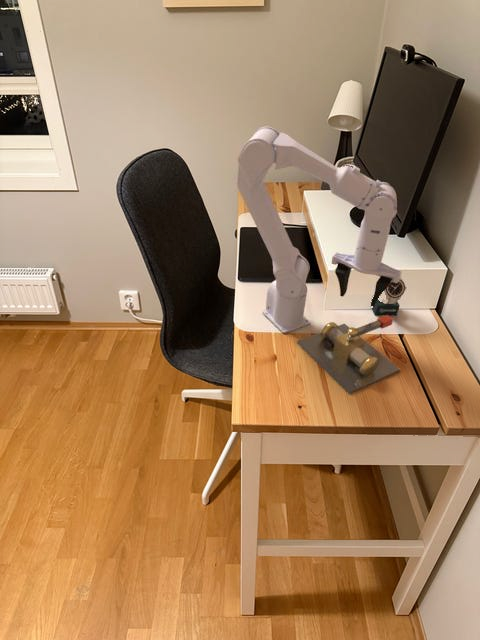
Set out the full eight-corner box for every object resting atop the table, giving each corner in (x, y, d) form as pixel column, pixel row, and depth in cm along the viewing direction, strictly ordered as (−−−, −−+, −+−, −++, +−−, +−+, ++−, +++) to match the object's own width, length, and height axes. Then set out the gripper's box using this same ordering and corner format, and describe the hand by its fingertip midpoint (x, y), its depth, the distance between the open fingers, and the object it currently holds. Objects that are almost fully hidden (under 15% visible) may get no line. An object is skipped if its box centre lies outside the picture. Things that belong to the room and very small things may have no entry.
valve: (296, 342, 103) (299, 326, 100) (344, 325, 109) (347, 309, 106) (349, 394, 91) (354, 377, 88) (399, 371, 97) (405, 354, 94)
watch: (377, 320, 111) (387, 282, 104) (368, 301, 118) (377, 264, 111) (399, 320, 112) (411, 282, 105) (389, 301, 118) (400, 265, 111)
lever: (350, 343, 96) (352, 334, 94) (344, 338, 97) (346, 329, 96) (391, 327, 101) (394, 318, 99) (384, 322, 102) (387, 313, 101)
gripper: (411, 246, 93) (394, 300, 102) (343, 228, 99) (333, 281, 107) (402, 260, 88) (386, 316, 97) (332, 241, 94) (322, 295, 102)
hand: (358, 299), depth 101 cm, fingers open, 6 cm apart
